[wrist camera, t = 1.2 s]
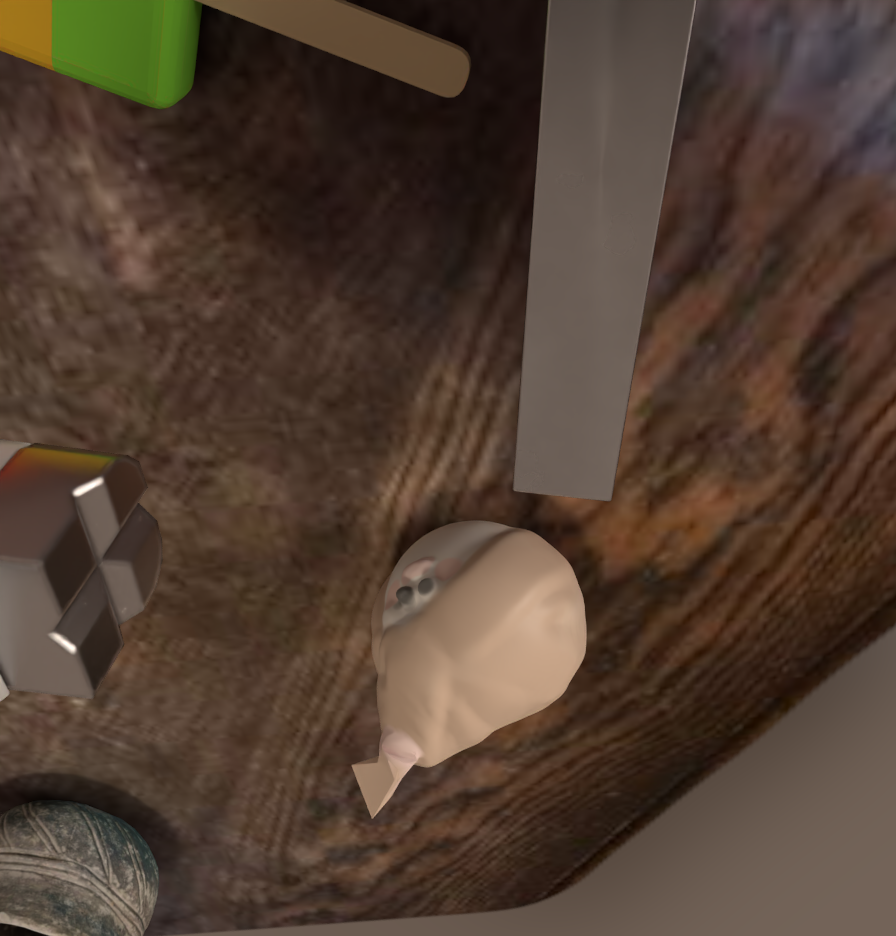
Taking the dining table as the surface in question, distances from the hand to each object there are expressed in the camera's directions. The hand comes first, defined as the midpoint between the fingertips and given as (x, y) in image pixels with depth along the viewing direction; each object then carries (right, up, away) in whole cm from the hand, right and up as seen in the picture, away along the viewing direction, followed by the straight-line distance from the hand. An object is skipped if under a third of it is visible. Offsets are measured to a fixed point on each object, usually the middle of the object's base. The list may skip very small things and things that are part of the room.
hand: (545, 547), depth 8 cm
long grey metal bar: (+2, +8, +10) cm, 13 cm away
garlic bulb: (0, -2, +19) cm, 20 cm away
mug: (-21, -17, +36) cm, 45 cm away
